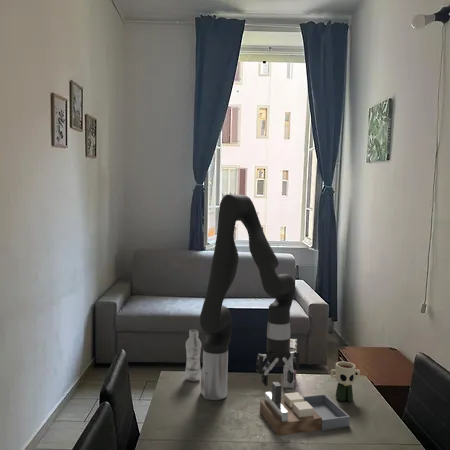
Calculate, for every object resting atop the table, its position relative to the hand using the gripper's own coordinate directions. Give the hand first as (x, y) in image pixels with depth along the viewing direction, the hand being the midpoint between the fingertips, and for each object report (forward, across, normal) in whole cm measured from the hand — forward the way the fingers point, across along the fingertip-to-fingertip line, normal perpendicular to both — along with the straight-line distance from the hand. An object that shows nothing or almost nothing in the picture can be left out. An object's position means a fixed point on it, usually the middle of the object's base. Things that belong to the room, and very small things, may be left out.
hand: (277, 383), depth 149 cm
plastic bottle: (+13, +20, -39) cm, 46 cm away
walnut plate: (+13, -5, 0) cm, 14 cm away
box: (+13, -17, 0) cm, 22 cm away
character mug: (+13, -31, -10) cm, 35 cm away
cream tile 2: (+9, -8, +3) cm, 12 cm away
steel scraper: (+9, 0, 0) cm, 9 cm away
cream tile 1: (+9, -8, -4) cm, 12 cm away
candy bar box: (+13, -17, -28) cm, 36 cm away
